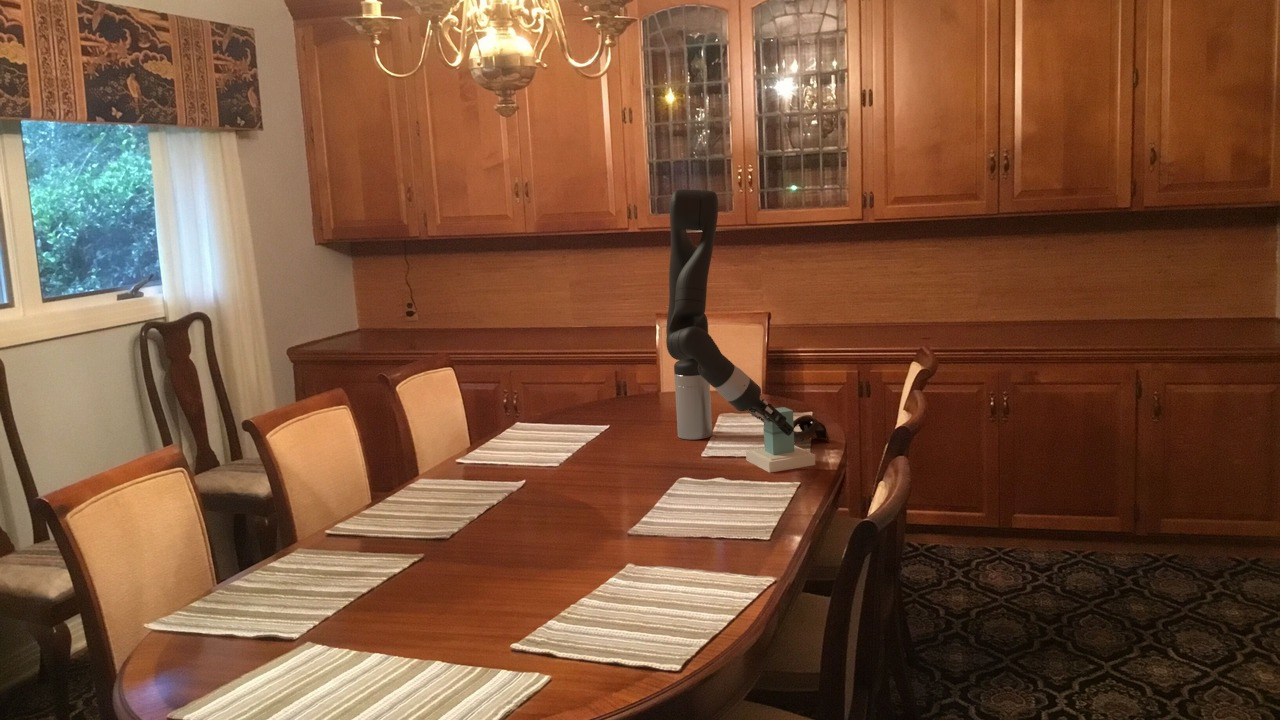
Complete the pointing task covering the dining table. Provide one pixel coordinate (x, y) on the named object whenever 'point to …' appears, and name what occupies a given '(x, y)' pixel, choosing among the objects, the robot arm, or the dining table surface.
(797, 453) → the display plinth
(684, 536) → the dining table surface
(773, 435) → the teal rectangular box
